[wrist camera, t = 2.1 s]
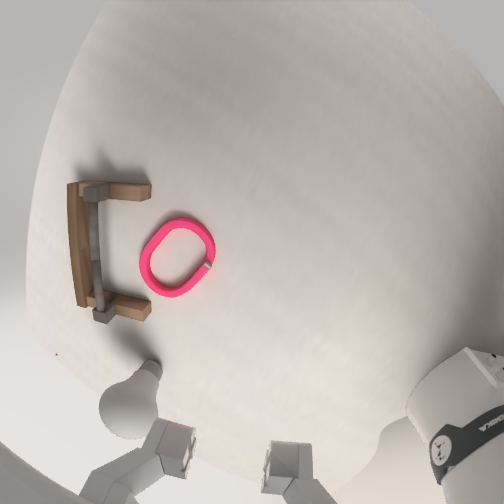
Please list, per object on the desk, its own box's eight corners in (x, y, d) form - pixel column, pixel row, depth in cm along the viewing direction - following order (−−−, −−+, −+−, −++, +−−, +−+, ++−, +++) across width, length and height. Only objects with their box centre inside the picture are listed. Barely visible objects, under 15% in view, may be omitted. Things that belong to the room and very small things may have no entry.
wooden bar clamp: (151, 184, 23) (129, 190, 20) (151, 311, 28) (134, 332, 24) (82, 180, 24) (56, 186, 20) (89, 295, 28) (69, 311, 24)
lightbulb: (125, 343, 30) (78, 406, 19) (169, 343, 29) (127, 416, 18) (143, 381, 32) (108, 444, 21) (186, 383, 31) (156, 455, 20)
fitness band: (176, 302, 27) (171, 310, 26) (134, 263, 27) (126, 268, 25) (229, 248, 25) (226, 254, 24) (181, 203, 24) (175, 206, 23)
